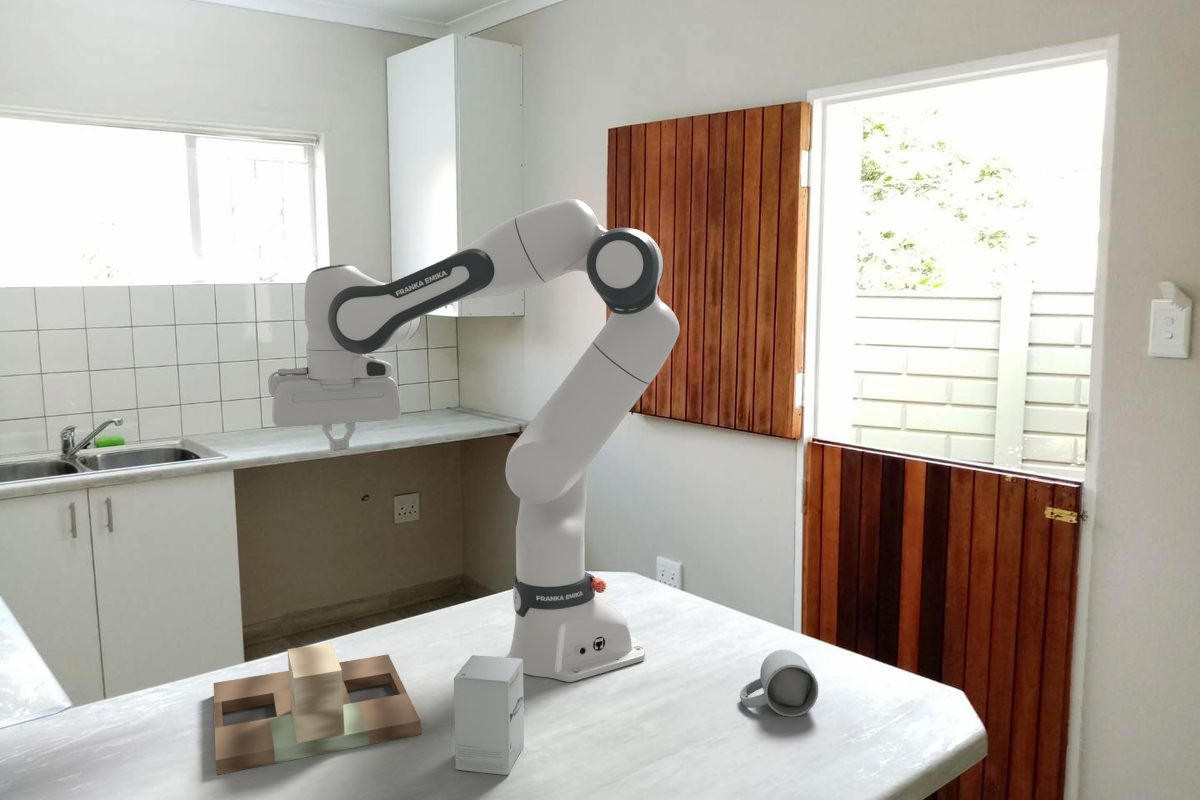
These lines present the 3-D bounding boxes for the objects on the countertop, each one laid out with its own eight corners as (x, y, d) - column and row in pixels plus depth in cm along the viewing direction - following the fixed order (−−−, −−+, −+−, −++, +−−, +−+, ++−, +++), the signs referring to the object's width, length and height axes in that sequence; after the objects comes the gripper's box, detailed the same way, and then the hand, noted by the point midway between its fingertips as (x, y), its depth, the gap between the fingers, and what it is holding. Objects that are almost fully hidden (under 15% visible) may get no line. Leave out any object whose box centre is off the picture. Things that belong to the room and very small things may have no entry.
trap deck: (388, 666, 149) (388, 654, 149) (421, 734, 127) (420, 720, 127) (214, 695, 139) (213, 682, 138) (216, 774, 117) (215, 760, 117)
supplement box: (509, 776, 116) (508, 681, 115) (453, 770, 118) (451, 676, 116) (526, 747, 123) (524, 657, 122) (473, 741, 125) (471, 653, 123)
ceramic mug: (806, 691, 140) (806, 642, 139) (818, 717, 132) (819, 665, 130) (736, 692, 140) (736, 644, 139) (744, 718, 132) (744, 667, 131)
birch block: (334, 702, 132) (332, 642, 131) (344, 734, 123) (341, 670, 122) (290, 710, 130) (287, 649, 129) (297, 743, 121) (293, 678, 119)
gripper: (268, 371, 142) (273, 459, 144) (401, 365, 150) (404, 448, 152) (266, 367, 148) (271, 452, 150) (394, 361, 156) (397, 442, 158)
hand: (339, 450), depth 151 cm, fingers closed
